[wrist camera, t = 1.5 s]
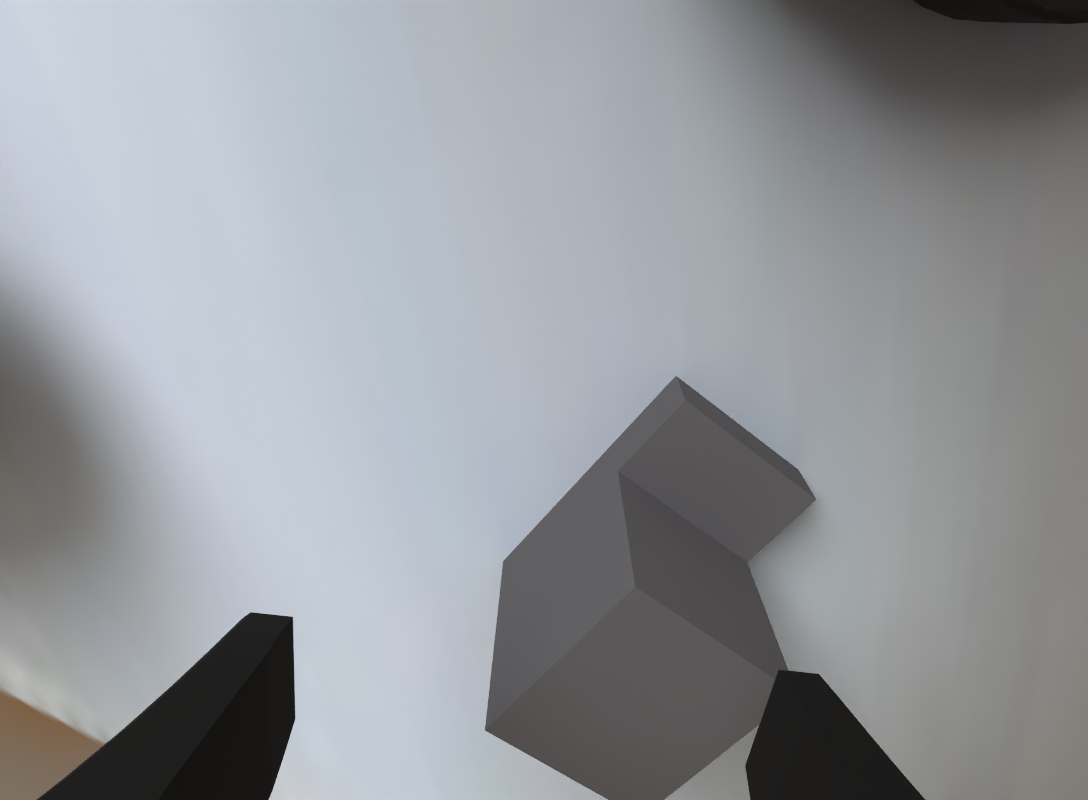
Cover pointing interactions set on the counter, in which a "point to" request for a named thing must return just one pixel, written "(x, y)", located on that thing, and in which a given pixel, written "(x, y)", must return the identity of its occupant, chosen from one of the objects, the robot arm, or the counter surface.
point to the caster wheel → (1012, 10)
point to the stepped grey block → (645, 605)
